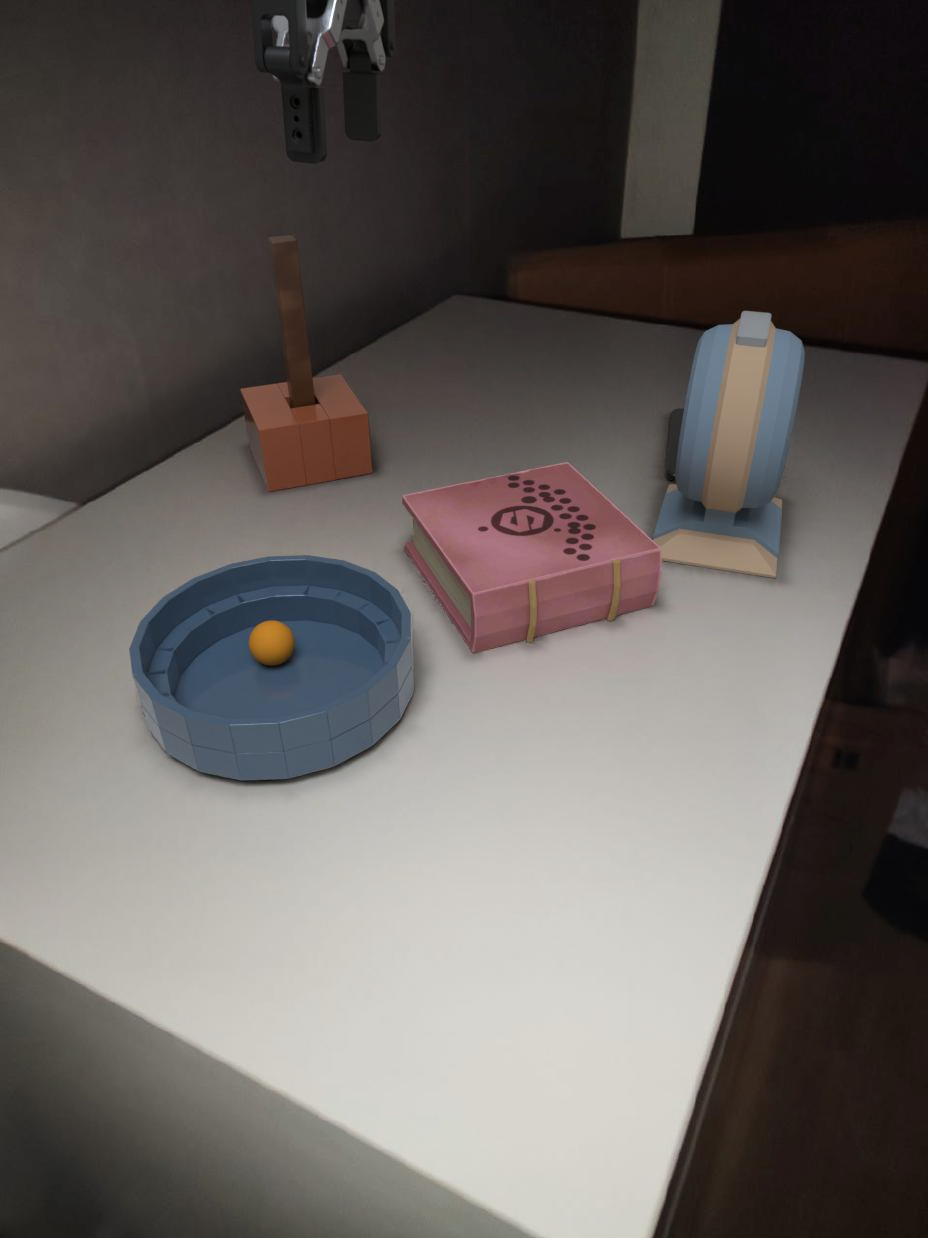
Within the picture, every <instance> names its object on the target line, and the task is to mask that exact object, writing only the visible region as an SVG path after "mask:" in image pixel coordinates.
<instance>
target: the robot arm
mask: <svg viewBox="0 0 928 1238" xmlns="http://www.w3.org/2000/svg"><path fill="white" fill-rule="evenodd" d="M250 3H251V4H250V5H251V20H252V34H253V36H252V37H253V49H254V50H253V51H254V62H255V67H256V69H257V70H258V72H260V73H265V74H270V75H272V78H273V80H274V82H275V83H277V84H280V86H281V87H280V88H281V90H280V91H281V101H282V102H281V103H282V115H283V128H284V129H283V130H284V142H285V154H286V156H287V158H288V159H289V160H290V161H291V162H294V163H303V164H314V165H315V164H316V165H317V164H320V163H322V162H324V161H325V160H326V159H327V157H328V141H327V140H328V139H327V120H326V102H325V99H326V98H325V87H324V86H321V85H322V83H323V79H324V76H325V75H324V74H325V69H326V66H327V65H326V64H327V59H328V55H329V51H330V50H331V49H333V48H337V51H338V55H339V58H340V61H341V64H342V67H343V69H344V70H345V71H342V88H343V89H342V91H343V113H344V114H343V115H344V116H343V117H344V133H345V136H346V137H347V138H348V139H349V140H351V141H357V142H358V141H359V142H375V141H377V140H379V139H380V138H381V136H382V104H381V103H382V99H381V98H382V96H381V94H382V93H381V91H382V90H381V73H380V72H383V71H385V68H386V63H387V58H393V57H394V56H395V53H396V48H397V47H396V46H397V44H396V21H395V20H396V19H395V18H396V17H395V0H250ZM273 30H274V31H275V33H276V34H277V37H276V43H275V45H274V39H273Z"/></svg>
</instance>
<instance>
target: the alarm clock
mask: <svg viewBox="0 0 928 1238" xmlns="http://www.w3.org/2000/svg"><path fill="white" fill-rule="evenodd" d="M805 355H806V351H805V348H804V344H803V341H802V340H801V339H800V338H799V337H798V336H797V335H795V334H794V333H793V332H792V331H790V330H787V329H786V330H785V329H782V328H781V329H780V328H776V326H775V325H774V323H773V322H772V313H770V312H765V311H764V312H762V311H753V310H751V311H750V310H743V311H741V314H740V318H739V319H737V320H736V321H734V323H732V324H730V323H729V324H717V325H716V326H714V327H711V328H709V329H706V330H705V331H704V332H703V334H702V335H701V337H700V338H699V340H698V342H697V345H696V348H695V353H694V356H693V360H692V366H691V370H690V375H689V380H688V385H687V391H686V397H685V401H684V413H683V419H682V425H681V432H680V438H679V445H678V453H677V461H676V471H675V483H672V484H668V485H667V489H666V493H665V494H664V498H663V501H662V505H661V508H660V510H659V511H660V512H659V515H658V519H657V522H656V526H655V530H654V532H653V536H652V540H653V541H654V542H655V543H656V544H657V545H658V546H659V547H660V548H661V560H662V561H664V562H670V563H676V564H682V565H688V566H693V567H694V566H696V567H702V568H708V569H714V570H719V571H725V572H732V573H739V574H745V575H752V576H758V577H765V578H770V579H771V578H772V579H776V578H777V569H778V559H779V558H778V557H779V553H780V542H781V541H780V540H781V529H782V519H783V518H782V516H783V499H781V498H778V497H775V496H776V495H777V493H778V492H779V490H780V486H781V482H782V478H783V475H784V472H785V466H786V461H787V458H788V453H789V448H790V444H791V440H792V434H793V430H794V425H795V419H796V415H797V409H798V404H799V399H800V392H801V387H802V379H803V374H804V368H805V360H806V359H805V358H806V356H805Z"/></svg>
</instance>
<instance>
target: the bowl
mask: <svg viewBox="0 0 928 1238" xmlns="http://www.w3.org/2000/svg"><path fill="white" fill-rule="evenodd" d="M405 601H406V600H404V598H403V596H402V594H401V592H400V591H399V589H398V588H396V586H394V585H393V584H392V583H390V582H388V581H387V580H386V579H385V578H383V577H382V576H381V575H379V573H377V572H375V571H373V570H370V569H369V568H365V567H363V566H360V565H357V564H354V563H352V562H349V561H347V560H344V559H337V558H332V557H331V558H330V557H323V556H316V555H311V554H309V555H308V554H299V555H295V554H294V555H270V556H263V557H258V558H254V559H248V560H243V561H242V560H241V561H237V562H233V563H229V564H227V565H226V564H225V565H224V566H221V567H219V568H216V569H213V570H211V571H208V572H206V573H203V574H199V575H197V576H195V577H192V578H191V579H189V580H188V581H186V582H184V583H183V584H182V585H180V586H178V587H177V588H175V589H174V590H172V591H171V592H169V593H167V594H165V595H164V596H162V597H161V598H160V599H159V601H158V602H156V604H155V605H154V606H153V607H152V608H151V609H150V610H149V611H148V612H147V613H146V615H144V617H143V618H141V620H140V621H139V623H138V626H137V628H136V631H135V633H134V636H133V638H132V640H131V643H130V646H129V649H128V650H129V658H130V665H131V667H130V668H131V675H132V679H133V681H134V685H135V689H136V691H137V696H138V698H139V701H140V705H141V709H142V712H143V715H144V719H145V722H146V726H147V728H148V730H149V732H150V733H151V734H152V736H153V737H154V738H155V739H156V741H157V742H158V744H159V745H160V746H161V748H162V749H163V750H164V752H165V753H166V754H167V755H168V756H171V757H172V758H174V759H176V760H177V761H179V762H181V763H183V764H185V765H187V767H190V768H192V769H194V770H195V771H198V772H200V773H203V774H208V775H213V776H218V777H223V778H228V779H233V780H237V781H263V780H264V781H265V780H266V781H267V780H288V779H293V778H297V777H300V776H304V775H307V774H311V773H315V772H318V771H322V770H327V769H330V768H333V767H335V766H338V765H340V764H341V763H343V762H346V761H347V760H349V759H351V758H352V757H354V756H357V755H358V754H360V753H363V751H365V750H368V749H369V748H371V747H373V746H374V745H375V744H376V743H378V741H379V740H380V739H381V738H383V737H384V736H385V735H386V733H388V732H389V731H390V730H391V729H392V728H393V727H394V726H395V725H396V724H397V723H398V722H399V721H400V720H401V718H402V717H403V714H404V712H405V710H406V708H407V707H408V704H409V702H410V700H411V699H412V696H413V694H414V690H415V686H414V685H415V684H414V683H415V681H414V680H415V677H414V676H415V668H414V667H415V663H414V645H413V643H414V642H413V627H412V625H413V624H412V613H411V611H410V609H409V607H408V605H407V603H406V602H405ZM271 620H273V621H279V622H281V623H283V624H285V625H286V626H287V627H288V628H289V629H290V630H291V631H292V633H293V636H294V640H295V646H294V650H293V653H292V654H291V656H290V657H289V658H288V659H287V660H286V661H285V662H283V663H281V664H279V665H274V666H270V665H265V664H262V663H260V662H258V661H257V660H256V659H255V658H254V657H253V655H252V654H251V652H250V649H249V637H250V635H251V632H252V631H253V629H254V628H255V627H256V626H257V625H259V624H260V623H262V622H265V621H271Z"/></svg>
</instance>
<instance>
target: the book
mask: <svg viewBox="0 0 928 1238" xmlns="http://www.w3.org/2000/svg"><path fill="white" fill-rule="evenodd" d="M401 503H402V506H403V507H404V508H405V510H406V511H407V513H408V514H409V516H410V517H411V518H412V528H413V529H412V532H413V539H412V540H410V541H406V542H404V551H405V553H406V554H407V557H409V559H410V560H411V562H412V564H413V565H414V566H415V568H416V570H418V573H419V574H420V575H421V577H422V578H423V580H424V582H425V583H426V585H427V586H428V587H429V589H430V590H431V592H432V593H433V595H434V596H435V598H436V600H437V601H438V603H439V604H440V606H441V608H443V610H444V612H445V613H446V615H447V616H448V618H449V619H450V621H451V622H452V624H453V625H454V627H455V629H456V630H457V631H458V633H459V635H460V636H461V638H462V639H463V641H464V642H465V644H466V645H467V647H468V649H470V652H471V653H472V654H476V653H479V652H483V651H487V650H490V649H494V648H495V649H496V648H498V647H502V646H506V645H510V644H513V643H517V642H521V641H525V642H527V643H529V644H531V643H533V642H534V641H533V640H534V638H537V637H540V636H544V635H548V634H552V633H555V632H559V631H563V630H567V629H571V628H574V627H578V626H581V625H586V624H590V623H594V622H597V621H601V620H605V619H606V621H608V622H613V621H614V619H615V617H617V616H620V615H624V614H628V613H632V612H635V611H640V610H643V609H647V608H651V607H654V605H655V602H656V600H657V597H658V594H659V591H660V585H661V580H662V579H661V578H662V572H663V568H662V567H663V566H662V564H663V563H662V560H661V548H660V547H659V546H658V545H657V544H656V543H655V542H654V541H653V538H651V537H649V536H648V535H647V534H646V533H645V532H644V531H643V530H642V529H641V528H640V527H639V526H638V525H636V523H635V522H634V521H632V520H631V519H630V518H629V517H628V516H627V515H625V513H624V512H622V510H620V509H619V508H618V507H617V506H616V505H615V504H614V503H613V502H612V501H611V500H610V499H609V498H607V496H605V495H604V493H602V492H601V491H600V490H598V489H597V488H596V487H595V486H594V485H593V484H592V483H591V482H590V481H589V480H588V479H587V478H586V477H585V476H584V475H582V473H580V471H578V470H577V469H576V468H575V467H574V466H573V465H571V463H570V462H568V461H565V462H560V463H555V464H550V465H545V466H540V467H536V468H530V469H526V470H521V471H516V472H515V471H514V472H511V473H506V474H500V475H495V476H491V477H486V478H481V479H476V480H471V481H466V482H462V483H455V484H452V485H447V486H441V487H436V488H432V489H427V490H426V489H425V490H421V491H417V492H411V493H407V494H401Z"/></svg>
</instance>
